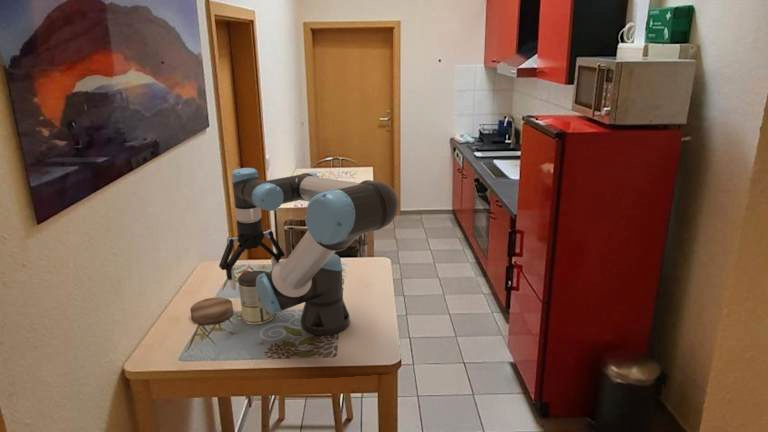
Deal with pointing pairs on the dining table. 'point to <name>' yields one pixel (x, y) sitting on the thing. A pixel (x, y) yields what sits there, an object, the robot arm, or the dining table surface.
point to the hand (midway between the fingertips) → (254, 283)
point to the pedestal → (211, 310)
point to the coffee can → (252, 300)
